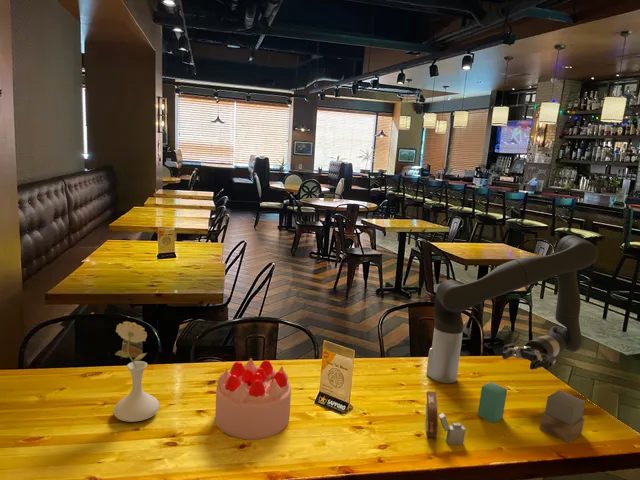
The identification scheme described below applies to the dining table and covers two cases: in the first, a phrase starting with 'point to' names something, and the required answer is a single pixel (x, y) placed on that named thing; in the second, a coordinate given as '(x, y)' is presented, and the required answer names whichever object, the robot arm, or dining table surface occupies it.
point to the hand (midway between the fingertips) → (517, 361)
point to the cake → (252, 400)
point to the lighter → (453, 431)
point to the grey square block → (565, 407)
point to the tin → (431, 414)
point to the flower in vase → (135, 380)
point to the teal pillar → (492, 402)
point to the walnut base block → (561, 428)
